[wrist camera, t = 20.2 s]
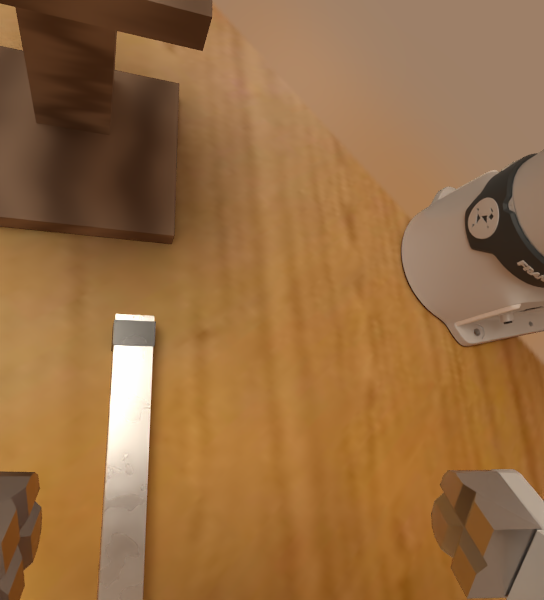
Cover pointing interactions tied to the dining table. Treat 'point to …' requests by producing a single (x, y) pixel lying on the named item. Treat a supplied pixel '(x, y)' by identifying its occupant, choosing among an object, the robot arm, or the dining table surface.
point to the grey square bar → (127, 460)
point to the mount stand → (91, 119)
